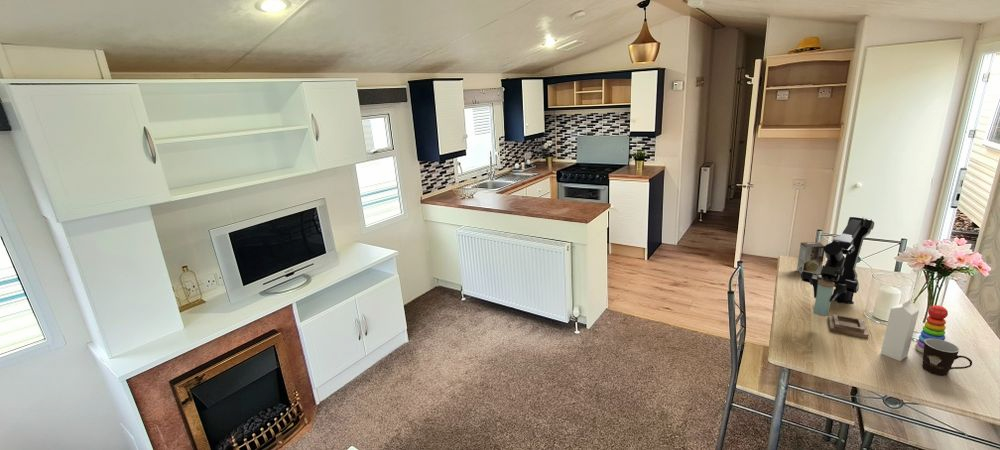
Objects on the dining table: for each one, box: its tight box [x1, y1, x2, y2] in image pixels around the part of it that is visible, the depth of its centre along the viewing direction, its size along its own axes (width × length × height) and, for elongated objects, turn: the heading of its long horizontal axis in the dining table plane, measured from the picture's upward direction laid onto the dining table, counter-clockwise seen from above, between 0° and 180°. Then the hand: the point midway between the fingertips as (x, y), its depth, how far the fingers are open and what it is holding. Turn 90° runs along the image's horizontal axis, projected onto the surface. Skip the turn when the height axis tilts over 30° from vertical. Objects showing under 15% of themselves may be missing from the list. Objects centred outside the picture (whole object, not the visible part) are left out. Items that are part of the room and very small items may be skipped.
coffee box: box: [796, 241, 826, 276], centre depth 232 cm, size 9×6×16 cm
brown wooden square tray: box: [827, 313, 869, 339], centre depth 181 cm, size 12×12×3 cm
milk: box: [880, 299, 920, 362], centre depth 159 cm, size 6×6×22 cm
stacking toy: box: [914, 304, 949, 354], centre depth 161 cm, size 8×8×19 cm
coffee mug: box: [921, 338, 973, 377], centre depth 150 cm, size 12×9×10 cm
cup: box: [812, 279, 835, 317], centre depth 179 cm, size 5×5×14 cm
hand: (822, 299), depth 178 cm, fingers closed on cup, 5 cm apart
